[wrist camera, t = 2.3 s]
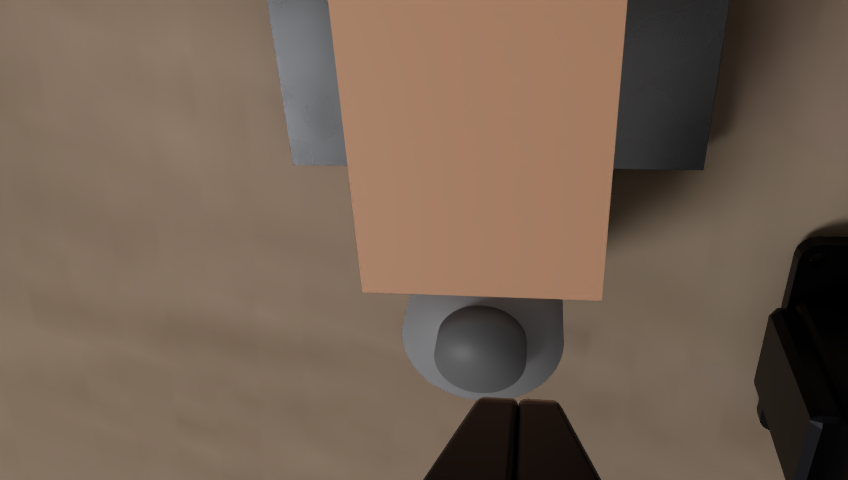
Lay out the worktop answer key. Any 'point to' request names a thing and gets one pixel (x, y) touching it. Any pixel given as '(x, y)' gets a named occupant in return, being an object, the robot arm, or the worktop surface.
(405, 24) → the swing bar
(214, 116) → the worktop surface
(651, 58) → the label plate
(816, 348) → the robot arm
